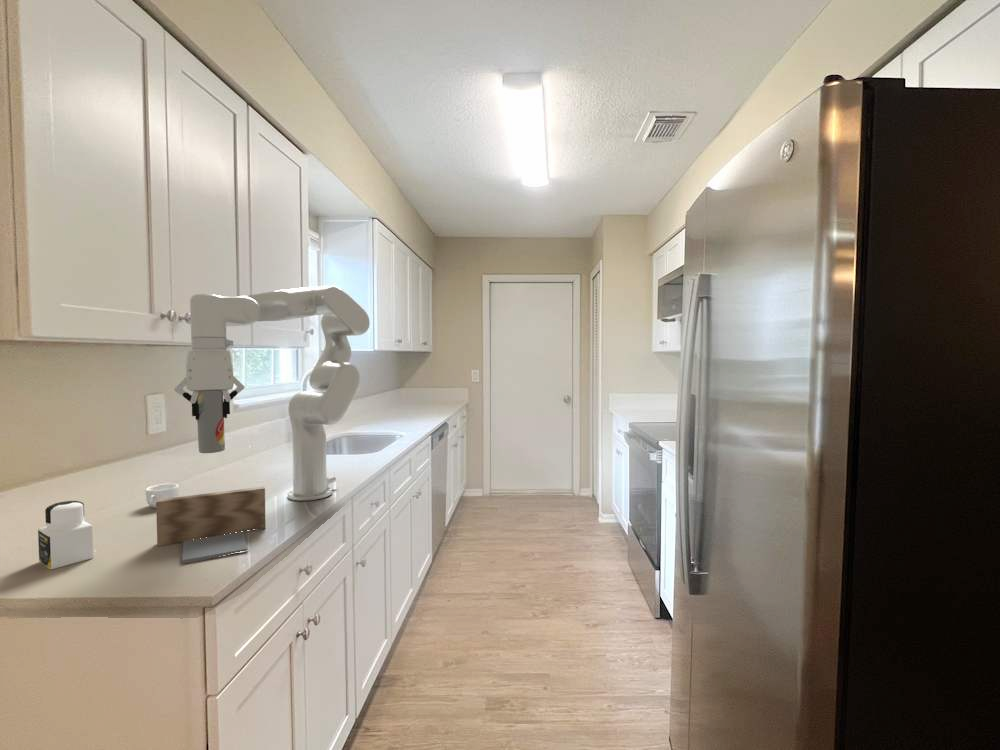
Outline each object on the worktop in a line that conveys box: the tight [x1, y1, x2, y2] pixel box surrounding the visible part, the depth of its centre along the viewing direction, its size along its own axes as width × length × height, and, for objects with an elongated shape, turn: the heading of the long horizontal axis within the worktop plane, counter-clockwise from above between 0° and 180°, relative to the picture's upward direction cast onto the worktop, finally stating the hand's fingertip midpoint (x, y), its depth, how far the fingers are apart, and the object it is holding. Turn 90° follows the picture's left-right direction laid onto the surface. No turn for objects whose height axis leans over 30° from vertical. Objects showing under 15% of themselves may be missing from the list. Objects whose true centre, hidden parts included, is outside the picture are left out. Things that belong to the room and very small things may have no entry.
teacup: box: [145, 483, 180, 509], centre depth 139 cm, size 10×8×5 cm
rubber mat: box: [181, 532, 249, 565], centre depth 110 cm, size 12×12×1 cm
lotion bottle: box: [196, 390, 226, 454], centre depth 123 cm, size 6×6×20 cm
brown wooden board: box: [155, 486, 266, 547], centre depth 117 cm, size 22×2×10 cm, turn 121°
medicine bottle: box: [37, 500, 95, 571], centre depth 103 cm, size 7×7×12 cm
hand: (211, 417), depth 123 cm, fingers closed on lotion bottle, 5 cm apart
